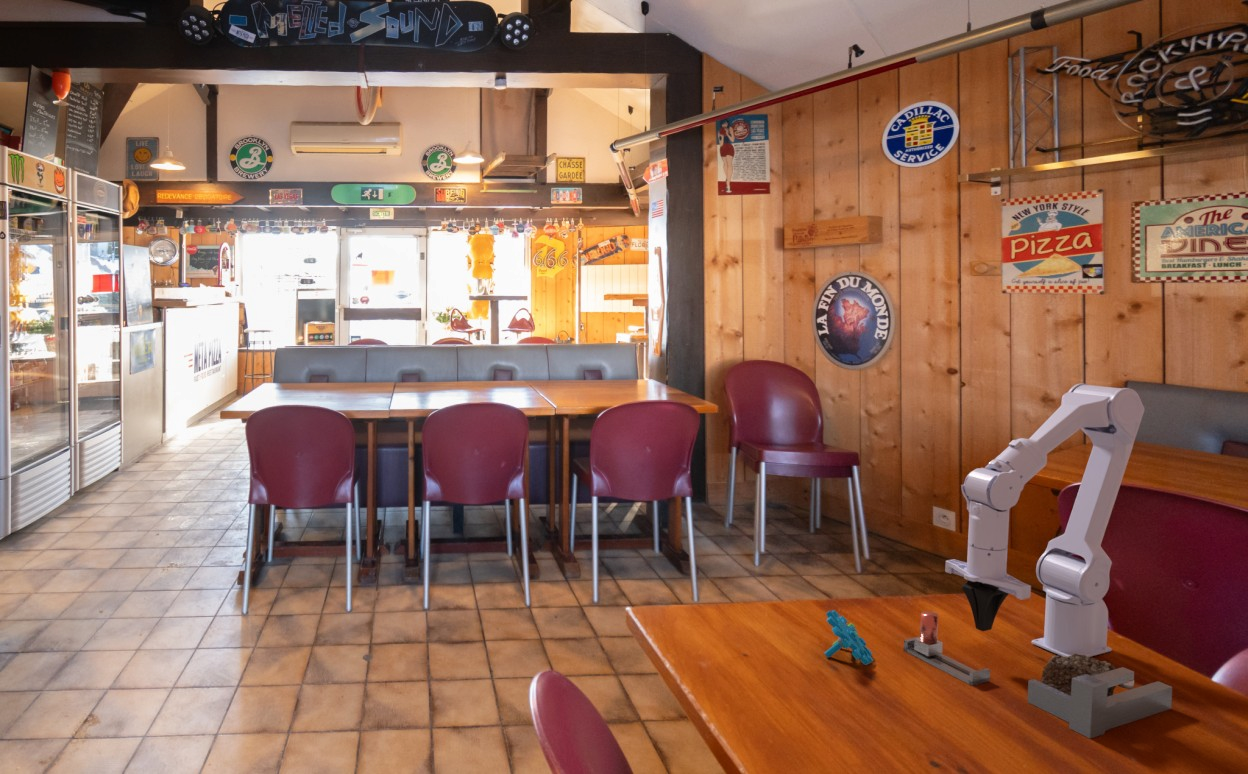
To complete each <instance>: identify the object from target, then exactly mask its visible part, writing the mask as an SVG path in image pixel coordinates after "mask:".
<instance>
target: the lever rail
mask: <svg viewBox="0 0 1248 774" xmlns="http://www.w3.org/2000/svg"><path fill="white" fill-rule="evenodd" d="M916 638H920V636H915V637H911V638H908V639H904V640H903V651H904V652H905V653H907V654H910V655H911V656H914V657H916V658H917V659H919V660H921V661H923V662H925V663H927V664H929V665H931V666H933V667H935V668H937V669H939V670H941V671H942V672H945V673H947V674H948V675H951V676H953V677H955V678H956V679H959V680H960V681H963V682H964V683H966V684H967V685H970V686H976V685H981V684H984V683H988V682H990V679H991V678H990V677H991V669H989V668H987V667H986V668H983V669H978V670H975V669H973V668H971V667H970V666H967V665H965V664H963V663H961V662H959V661H958V660H955V659H954V658H951V657H949V656H947V655H945V654H943V653H941V654H937V655H933V656H926V655H924V654H922V653H920V652H918V651H916V650H914V645H915V639H916Z"/></svg>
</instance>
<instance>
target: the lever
mask: <svg viewBox="0 0 1248 774" xmlns="http://www.w3.org/2000/svg"><path fill="white" fill-rule="evenodd" d="M938 630H939V614H938V613H936V612H933V611H927V610H926V611H922V612H921V613H920V632H919V633H920V635H919V637H920V638H916V639H915V645H914V650H916V651H918V652H920V653H922V654H924V655H926V656H933V655H937V654H943V641H940V640H938Z"/></svg>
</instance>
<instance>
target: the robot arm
mask: <svg viewBox="0 0 1248 774" xmlns="http://www.w3.org/2000/svg"><path fill="white" fill-rule="evenodd" d="M1145 410H1146V409H1145V406H1144V405H1143V402H1142V400H1141V398H1140V396H1139V394H1138V393H1137V391H1136V390H1134V389H1132V388H1131V387H1123V388H1122V387H1121V388H1120V387H1110V386H1102V385H1093V384H1092V385H1091V384H1088V383H1082V382H1081V383H1077V384H1074V385H1073V386H1072V387H1071V388H1070V389H1069V390H1068V391H1067V392H1066V393H1064V394H1063V395H1062V396H1061V403H1060V406H1059V407H1058V408H1057V409H1056V410H1055V411H1054V412H1053V414H1051V415H1050V416H1049V417H1048V419H1046V420H1045V422H1043V424H1042V425H1040V427H1039V428H1037V430H1036V431H1035V432H1034V433H1033V434H1032V435H1031V436H1030V437H1029V438H1026V437H1025V438H1023V437H1021V438H1017V439H1013V440H1011V441H1010V442H1009V443H1008V446H1007V447H1006V448H1005V449H1003V451H1002V452H1001V453H1000V454H999V455H997V456H996V457H995V458H994V459H992V460H991V461H989V462H988V464H987V465H985V467H980V468H975V469H974V470H971V471H970V472H969V473H968V474H967V475H966V477H965V480H964V483H963V484H961V485H960V486H961V487H960V488H961V493H962V495H963V498H964V499H965V501H966V510H967V511H968V532H967V535H968V536H967V537H968V539H967V559H966V560H967V561H966V562H965V561H961V560H958V559H954V558H953V559H947V560H945V567H944V568H945V569H944V571H945V573H947V574H954V575H958V576H960V577H963V579H965V580H966V581H967V582H966V583H962V585H961V590H962V591H963V593H964V594H965V596H966V599H967V600H968V603H969V606H970V609H971V612H972V617H973V621H974V625H975V629H976V630H978V631H980V632H987V631H991V630H993V629H992V628H993V625H994V622H995V619H996V617H997V613H998V612H999V610H1000V607H1001V606H1002V604H1003V603H1004V600H1005V599H1006V598H1007V597H1008V596H1009V595H1012V596H1014V597H1015V598H1016V599H1018V600H1020V601H1021V600H1022V601H1023V600H1027V599H1030V598H1031V596H1032V595H1031V593H1032V592H1031V591H1032V585H1030V584H1028V583H1025V582H1023V581H1022V580H1020V579H1017V578H1015V577H1014V576H1012V575H1010V574H1009V573H1007V569H1008V568H1007V565H1008V564H1007V562H1008V550H1009V549H1008V545H1009V530H1010V529H1009V527H1010V524H1009V523H1010V510H1011V508H1012V507H1014V506H1016V505H1017V503H1018V501H1019V499H1020V496H1021V492H1022V491H1023V490H1024V487H1025V485H1026V484H1027V483H1028V482H1029V481H1030V480H1032V479H1033V477H1035V476H1036V475H1037V474H1038V473H1039V472H1040V471H1041V470H1042V469H1044V468H1045V467H1046V465H1047V463H1048V454H1049V453H1050V452H1052V451H1053V450H1054V449H1055V448H1057V447H1058V446H1059V445H1060V444H1062V443H1063V442H1064V441H1066V440H1067V439H1069V438H1070V437H1072V436H1073V435H1074V434H1075V433H1076V432H1078V431H1080V430H1081V431H1082V432H1083V433H1084V434H1085V435H1086V436H1088V438H1089V439H1090V441H1091V443H1092V449H1091V452H1090V456H1089V458H1088V461H1087V464H1086V466H1085V470H1084V473H1083V476H1082V479H1081V481H1080V482H1081V483H1080V485H1079V489H1078V492H1077V495H1076V497H1075V500H1074V503H1073V507H1072V510H1071V512H1070V515H1069V519H1068V522H1067V525H1066V527H1065V531H1064V533H1063V534H1061V535H1059V536H1056V537H1055V538H1052V539H1051V540H1049V541H1048V543H1047V547H1046V548H1045V551H1044V552H1043V553H1042V554H1041V556H1040V557H1039V559H1038V560H1037V563H1036V568H1035V573H1036V577H1037V580H1038V581H1039V583H1040V584H1042V591H1044V592H1045V594H1046V595H1045V611H1044V612H1045V613H1044V616H1045V617H1044V630H1043V633H1044V634H1043V637H1040V638H1036V639H1032V640H1031V644H1032V645H1034V646H1037V647H1040V648H1042V649H1045V650H1046V651H1048V652H1051V653H1053V654H1055V655H1056V654H1057V656H1060V657H1067V656H1072V655H1073V654H1075V653H1076V654H1078V655H1086V656H1087V657H1090V658H1092V657H1093V656H1097V655H1102V654H1106V653H1109V652H1112V648H1111V647H1110V646H1107V642H1108V627H1109V626H1108V624H1109V622H1108V621H1109V609H1108V607H1107V605H1106V603H1105V601H1104V599H1103V598H1104V597H1105V596H1106V595H1107V593H1108V591H1109V587H1110V583H1111V582H1110V581H1111V580H1110V571H1111V567H1112V564H1113V561H1112V560H1111V558H1110V557H1109V556H1108V554H1107V553H1106V552H1105V550H1104V549H1103V547H1102V546H1101V545H1102V542H1103V539H1104V536H1105V533H1106V529H1107V527H1108V524H1109V521H1110V518H1111V515H1112V511H1113V509H1114V505H1115V504H1116V503H1115V502H1116V500H1117V497H1118V493H1119V490H1120V487H1121V484H1122V481H1123V477H1124V475H1125V473H1126V469H1127V466H1128V463H1129V459H1130V457H1131V453H1132V451H1133V448H1134V443H1135V440H1136V437H1137V435H1138V431H1139V428H1140V425H1141V422H1142V419H1143V416H1144V413H1145ZM1073 555H1077V556H1080V557H1082V559H1081V558H1078V557H1075V556H1073Z"/></svg>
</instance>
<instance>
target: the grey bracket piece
mask: <svg viewBox="0 0 1248 774" xmlns="http://www.w3.org/2000/svg"><path fill="white" fill-rule="evenodd" d="M1027 683H1028V684H1027V703H1028V704H1030V705H1033V706H1034V707H1037V708H1039V709H1040V710H1042V711H1044V712H1046V713H1048V714H1051V715H1053V716H1054V717H1057V718H1058V719H1060V720H1062V721H1065V722H1067V723H1068V728H1069V729H1070V730H1072V731H1074V732H1076V733H1077V734H1080V735H1081V736H1084V737H1086V738H1088V739H1094V738H1096V737H1099V736H1102V735H1105V734H1106V731H1108V730H1112V729H1115V728H1116V727H1120V726H1125V725H1126V724H1130V723H1132V722H1135V721H1138V720H1142V719H1144V718H1148V717H1151V716H1153V715H1156V714H1159V713H1162V712H1165V711H1168V710H1171V709H1172V702H1173V701H1172V700H1173V699H1172V697H1173V687H1174V686H1171V685H1168V684H1165V683H1163V682H1161V681H1155V682H1151V683H1148V684H1145V685H1141V686H1138V687H1134V686H1135V671H1133V670H1131V669H1128V668H1126V667H1118V668H1115V669H1114V670H1111V671H1107V672H1104V673H1100V674H1097V675H1093V676H1090V675H1088V674H1085V675H1081V676H1078V677H1074V678H1072V685H1071V696H1070V695H1068V694H1065V693H1063V692H1061V691H1059V690H1057V689H1055V688H1053V687H1050V686H1048V685H1046V684H1044V683H1042V682H1041V680H1037V679H1035V678H1032V679H1029V680H1028V682H1027ZM1113 686H1116V687H1117V686H1118V687H1120V688H1122V689H1127V690H1125V691H1122V692H1118V693H1115V694H1114V693H1113V695H1111V696H1108V697H1107V691H1108V688H1109V687H1113Z"/></svg>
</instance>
